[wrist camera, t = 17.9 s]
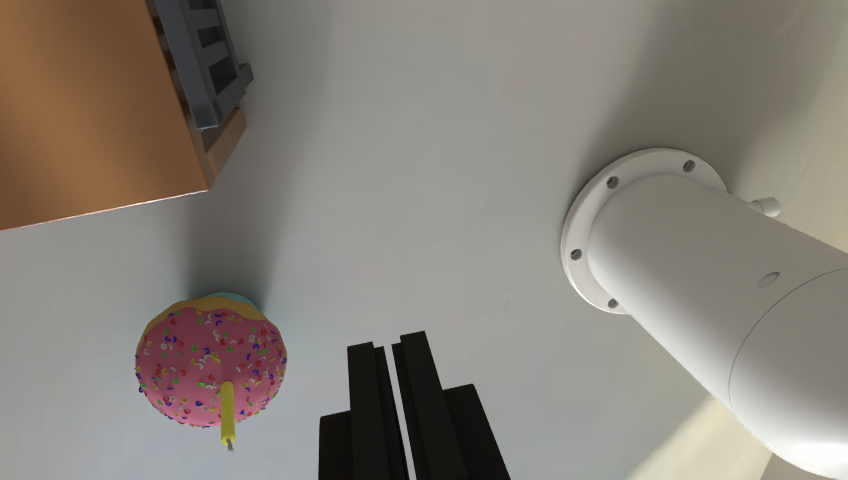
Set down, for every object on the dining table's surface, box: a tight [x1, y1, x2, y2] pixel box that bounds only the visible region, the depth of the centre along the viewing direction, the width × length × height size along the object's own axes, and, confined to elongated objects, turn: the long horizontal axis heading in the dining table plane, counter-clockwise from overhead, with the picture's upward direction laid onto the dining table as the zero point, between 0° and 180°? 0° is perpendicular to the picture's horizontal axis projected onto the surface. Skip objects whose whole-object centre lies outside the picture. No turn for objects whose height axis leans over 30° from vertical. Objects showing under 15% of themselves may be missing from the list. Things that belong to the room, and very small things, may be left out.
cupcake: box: [135, 292, 287, 452], centre depth 31 cm, size 9×8×12 cm
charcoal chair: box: [154, 0, 253, 130], centre depth 23 cm, size 7×7×13 cm
